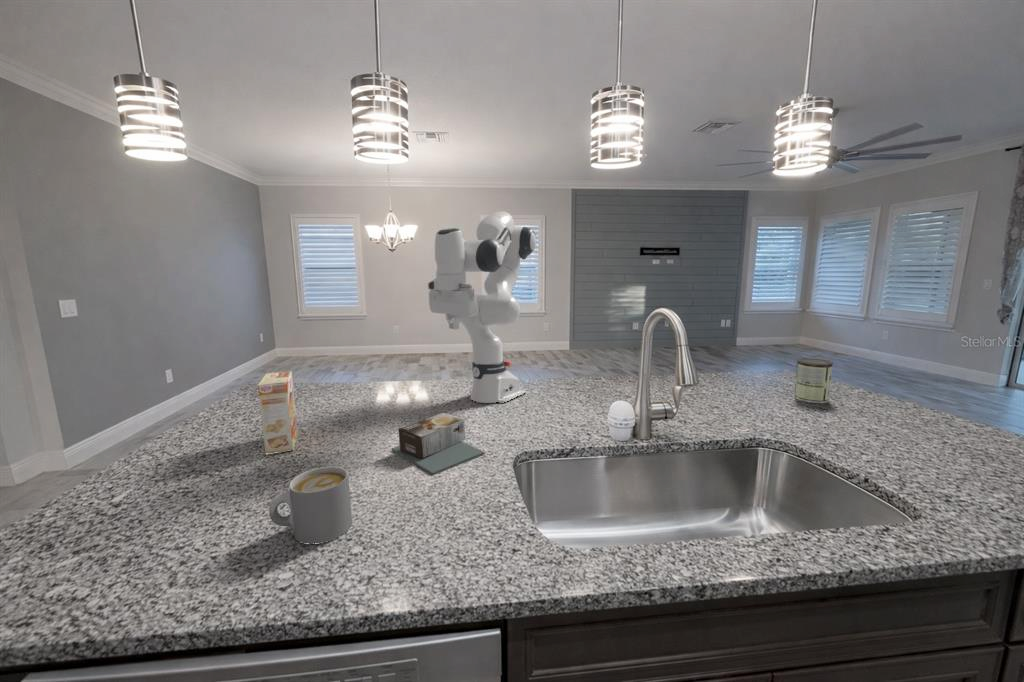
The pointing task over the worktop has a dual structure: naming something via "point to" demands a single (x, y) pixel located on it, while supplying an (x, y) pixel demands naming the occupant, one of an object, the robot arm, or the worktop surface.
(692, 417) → the worktop surface
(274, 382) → the coffeecake box
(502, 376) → the robot arm
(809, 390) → the coffee can
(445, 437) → the coffee box
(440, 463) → the mat
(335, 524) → the coffee mug
